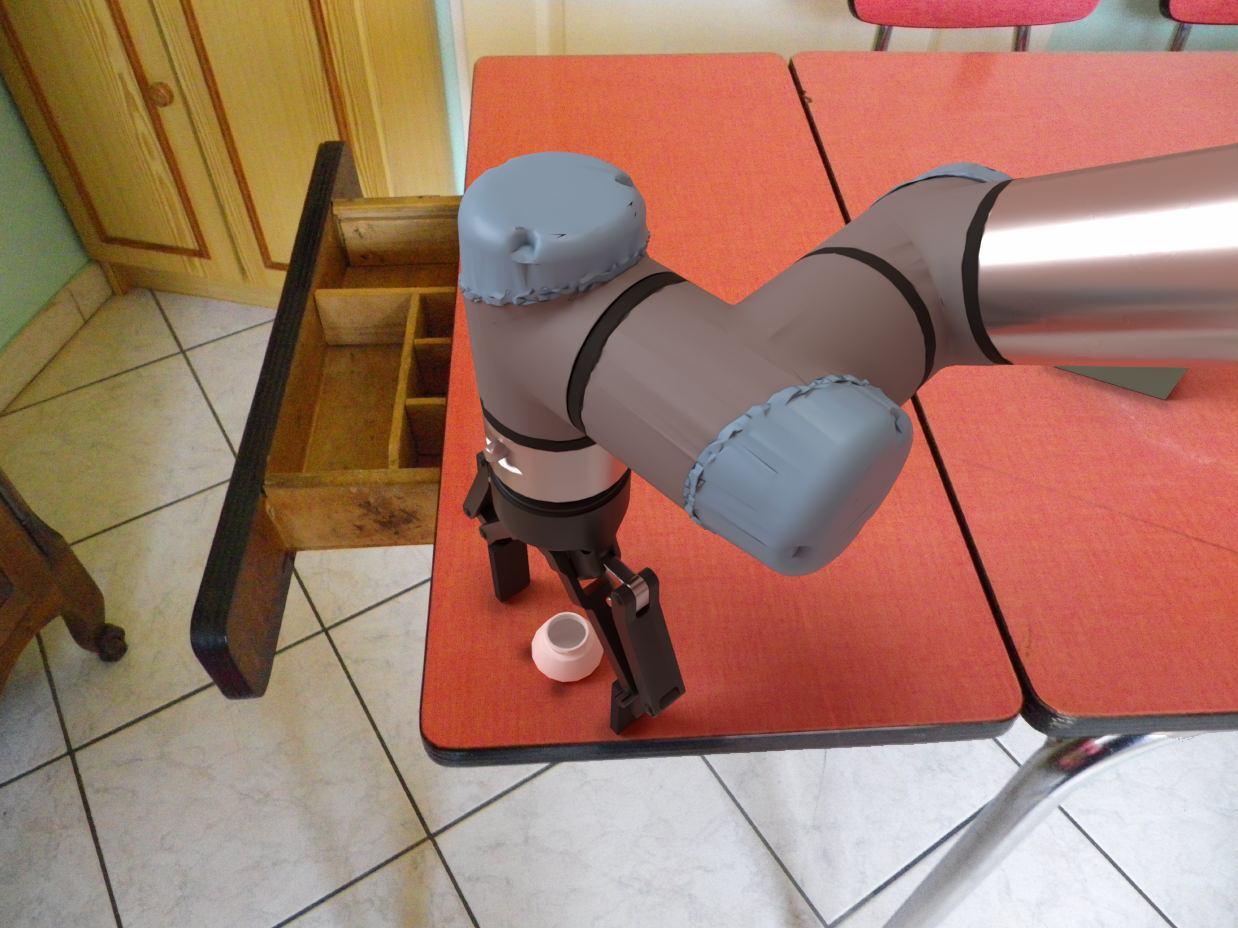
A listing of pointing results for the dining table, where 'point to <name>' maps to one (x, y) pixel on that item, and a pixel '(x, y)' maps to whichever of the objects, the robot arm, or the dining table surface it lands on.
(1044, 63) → the dining table surface
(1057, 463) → the dining table surface
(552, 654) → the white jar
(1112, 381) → the box
